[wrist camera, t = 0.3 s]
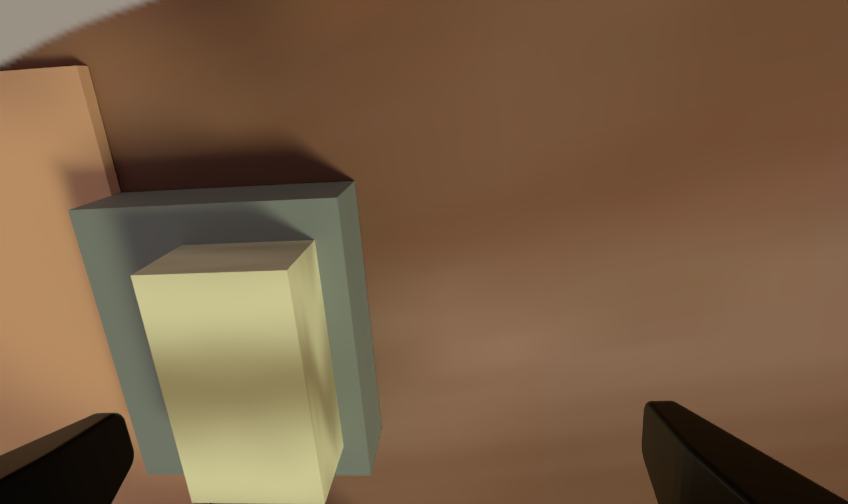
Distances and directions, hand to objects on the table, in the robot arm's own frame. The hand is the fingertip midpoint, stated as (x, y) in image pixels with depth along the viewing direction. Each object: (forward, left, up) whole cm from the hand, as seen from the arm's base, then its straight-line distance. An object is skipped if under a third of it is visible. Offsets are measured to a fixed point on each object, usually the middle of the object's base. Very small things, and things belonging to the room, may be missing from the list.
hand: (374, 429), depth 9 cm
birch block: (-4, +6, -8) cm, 11 cm away
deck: (-4, +8, -13) cm, 15 cm away
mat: (-4, +19, -13) cm, 23 cm away
